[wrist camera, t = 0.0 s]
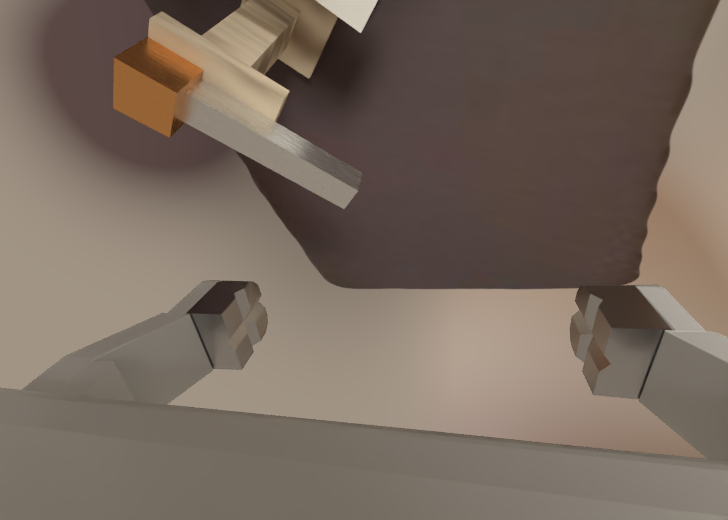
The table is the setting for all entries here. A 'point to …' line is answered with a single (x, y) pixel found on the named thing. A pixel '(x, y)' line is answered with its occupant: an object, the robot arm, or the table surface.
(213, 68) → the tall stand
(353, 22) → the grey i-shaped pedestal
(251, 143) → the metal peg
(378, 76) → the table surface
